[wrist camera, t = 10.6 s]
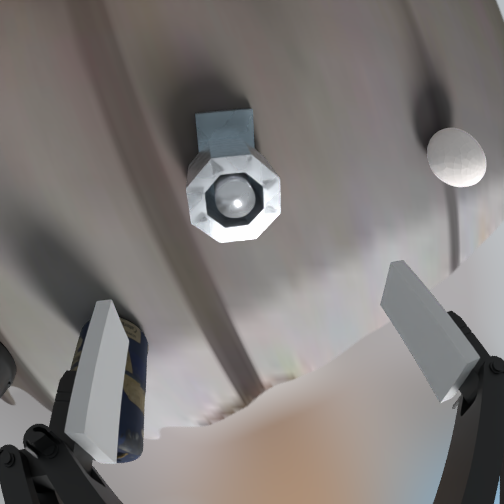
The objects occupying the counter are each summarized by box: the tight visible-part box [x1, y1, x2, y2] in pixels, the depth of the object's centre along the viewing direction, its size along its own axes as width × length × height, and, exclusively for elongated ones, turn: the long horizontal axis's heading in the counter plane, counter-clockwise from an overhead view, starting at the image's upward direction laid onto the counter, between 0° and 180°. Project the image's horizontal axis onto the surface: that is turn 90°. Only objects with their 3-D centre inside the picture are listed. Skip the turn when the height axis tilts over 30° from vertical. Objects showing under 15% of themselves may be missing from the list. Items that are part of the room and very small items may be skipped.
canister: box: [70, 317, 148, 463], centre depth 32 cm, size 10×10×18 cm
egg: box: [427, 128, 486, 187], centre depth 28 cm, size 6×6×8 cm
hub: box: [186, 138, 280, 243], centre depth 27 cm, size 7×7×6 cm
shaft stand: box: [195, 108, 255, 218], centre depth 27 cm, size 5×12×7 cm, turn 2°
